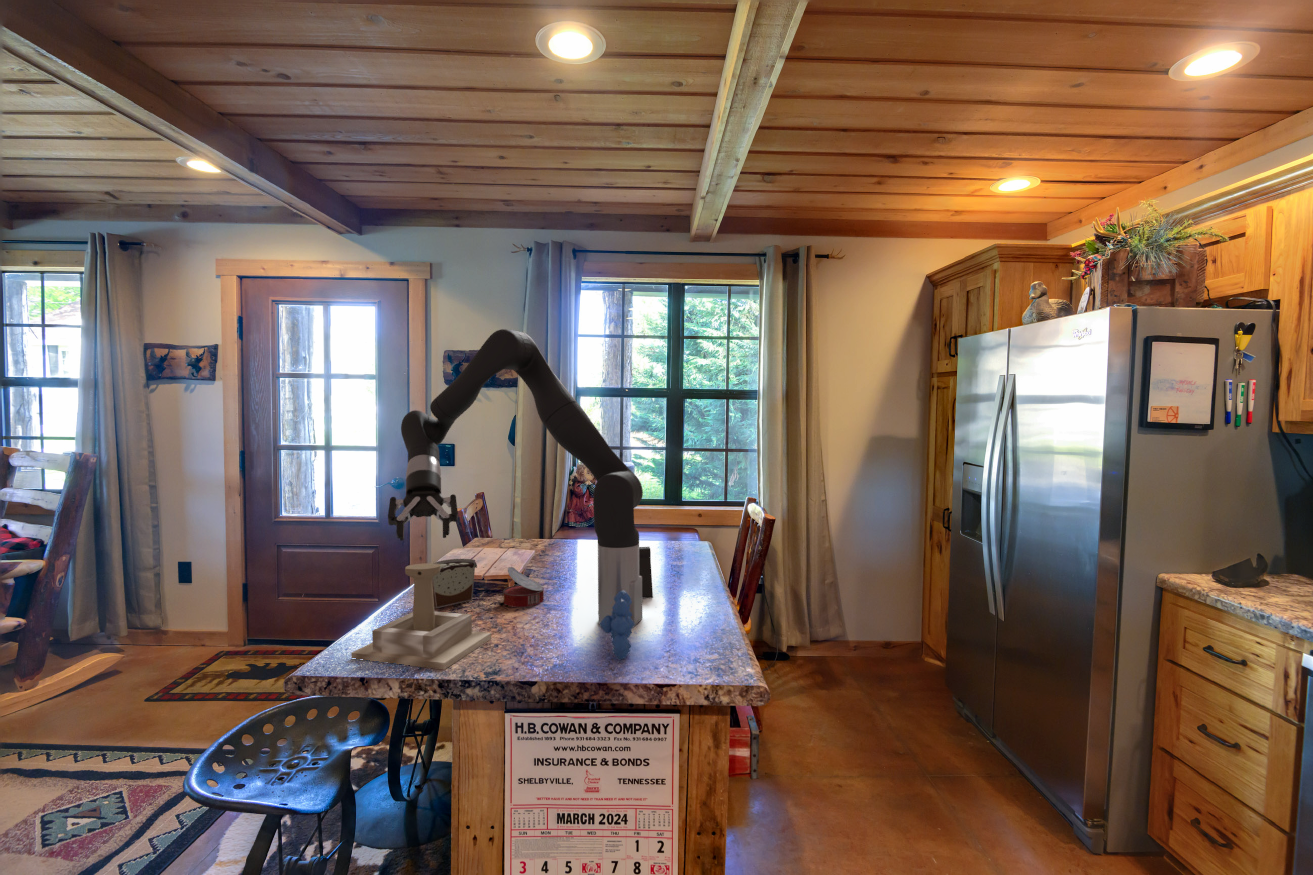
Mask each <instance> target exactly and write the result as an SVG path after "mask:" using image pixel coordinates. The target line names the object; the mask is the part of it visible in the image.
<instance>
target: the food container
mask: <svg viewBox="0 0 1313 875" xmlns="http://www.w3.org/2000/svg"><path fill="white" fill-rule="evenodd" d="M433 563H434V564H440V572H439V573H438V574H436V575H435V576H433V580H432V585H433V599H434V609H439V608H444V607H448V606H452V605H453V606H454V605H457V604H462V603H466V602H470V601H471V602H472V601H473V596H474V582H475V571H476V569H477V568H478V565H477V562H476V560H475V559H472V558H451V559H450V558H449V559H444V560H438V561H435V562H433Z"/></svg>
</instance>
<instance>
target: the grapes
mask: <svg viewBox="0 0 1313 875" xmlns="http://www.w3.org/2000/svg"><path fill="white" fill-rule="evenodd" d="M614 600H615V604H614V606H613V607H612V608H613V611H612V615H611V616H610V615H607V616H605V617H604V619H603V620H602V621H601V623H599V626H600V628H601V629H602V631H603V632H604V633H605V634H610V638H611V639H612V640H611V642H610V643H611V645H612V646H613V649H612V650H611V651H612V652H613V654H614V656H615V658H616V659H617V660H619V661H623V660H624V659H625V658H627V656H628V655H629V654H630V652H631V648H632V645H631V643H630V641H629V637H630V636H631V635H632V633H633V632H632V631H633V630H632V629H633V628H634V627H635V626H636V625H635V623H634V622H633V620H632V619H631V616H632V613H631V612H630V610H629V609H630V607H629V606H630V604H631V603H632V601H631V598H630V596H629V595H628V593H627V592H626V591H624V590H621V591H619V592H618V594H617V595H616V596H615V598H614ZM634 625H635V626H634Z"/></svg>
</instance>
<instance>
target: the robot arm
mask: <svg viewBox="0 0 1313 875" xmlns="http://www.w3.org/2000/svg"><path fill="white" fill-rule="evenodd" d="M503 370H508V371H514V372H515V373H516V374H517V375H518V376H519V378H521V379H522V381H523V383H524V384H525V385H526V386H527V387H528V389H529V391H530V392H531V393H532V397H533V399H534V400H533V401H534V405H535V408H536V412H537V415H538V417H539V419H540V421H541V423H542V424H543V425H544V427H545V429H547V431H548V433H549V434H550V435H551V436H552V438H553V439H554V440H555V441H556V442H557V444H559V446H561V447H562V448H563V450H565V451H566V452H568V453H569V454H570V455H572V456H573V457H574V458H575V459H576V460H578V461H579V462H580V463H581V464H583V466H585V467H586V468H587V469H588V471H589V472H590V473H591V474H592V476H593V478H595V481H596V484H595V485H594V489H593V496H592V499H593V502H592V504H593V525H594V526H593V527H594V532H595V534H596V538H597V583H598V584H597V599H598V600H597V602H598V604H597V606H598V607H597V609H598V610H597V615H598V617H597V618H598V620H597V621H598V623H599V624H600V623H601V621H602V620H603V619H604V617H605V616H607V615H610V616H611V615H612V611H613V608H612V607H613V606H614V604H615V600H614V598H615V596H616V595H617V594H618V592H619V591H621V590H624V591H626V592H627V593H628V595H629V596H630V598H631V601H632V603H631V604H630V606H629V607H630V609H629V610H630V612H631V613H632V616H631V619H632V620H633V622H634V623H635V625H634V626H633V627H636V626H637V624H638V623H639V622H640V621H641V620H642V619H643V598H642V576H639V547H640V533H639V531H638V530H637V529H636V525H635V508H636V507H638V506H639V504H640V503H641V501H642V499H643V494H644V492H643V486H642V482H641V481H640V479H639V478H638V476H637V475H636V474H635V472H633V471H632V470H631V469H630V467H628V465H627V464H625V463H624V461H623V460H622V459H621V458H620V457H619V456H618V454H616V453H615V452H614V450H613V449H612V448H611V447H610V446H609V444H608V442H607V441H606V440H605V438H604V437H603V435H602V434H601V433H600V431H599V430H598V428H597V427H596V426H595V424H594V423H593V422H592V420H591V419H590V418H589V416H588V415H587V413H586V412H585V411H584V409H583V408H582V407H581V406H580V404H579V402H578V401H577V400H576V399H575V398H574V396H573V395H572V394H571V393H570V392H569V389H567V387H565V385H564V383H562V381H561V380H560V379H559V378H558V376H557V375H556V374H555V372H553V370H552V369H551V366H550V365H549V363H548V361H547V360H546V358H545V357H544V355H543V354H542V352H541V350H540V349H539V347H538V345H537V344H536V342H535V341H534V339H533V338H532V337H531V336H529V334H527V333H526V332H523V331H517V330H514V329H513V330H512V329H508V328H504V329H503V328H502V329H498V330H495V331H494V332H492V333H491V334H490V335H489V337H488V338H486V341H484V342H483V344H482V346H481V347H480V348H479V350H478V351H477V352H476V353H475V355H474V356H473V358H472V359H471V360H470V361H469V363H468V364H467V365H466V366H465V367H464V369H463V370H462V371H461V373H459V375H458V376H457V377H456V378H455V379H454V380H453V381H452V382H451V383H450V384H449V385H448V386H447V387H445V389H444V390H442V391H441V392H440V393H439V394H438V395H437V396H436V397H435V398H434V399H433V400H432V401H431V403H430V406H429V409H430V412H431V413H432V415H433V416H431V415H429V414H427V413H425V412H423V411H421V410H416V409H415V410H410V411H409V412H407V413H406V414H405V415H404V416H403V419H402V420H401V424H400V430H401V431H400V432H401V436H402V440H403V441H404V445H405V448H406V451H407V453H408V454H407V467H406V475H405V497H404V498H403V499H397V497H396V496H391V497H390V499H389V505H388V512H387V513H388V514H387V521H388V522H387V523H388V525H389V526H396V529H395V530H396V532H395V534H396V537H397V538H396V539H399V541H400V542H402V541H405V525H406V524H407V523H408V522H410V521H411V520H412V519H413V518H414V517H416V518H422V517H428V518H430V517H432V516H434V517H435V518H436V519H437V520H440V522H441V523H442V538H443V539H447V536H449V535H450V530H451V529H450V523H452V522H454V523H456V522H457V521H458V520H459V518H458V514H459V512H458V503H457V496H456V494H454V493H453V494H450V496H449V497H448V496H447V497H446V496H445V497H444V496H443V495H442V472H441V471H442V470H441V466H440V462H441V461H440V448H439V445H440V444H441V443H442V442H443V441H444V440H445V438H446V436H447V434H448V432H449V431H450V429H451V428H452V426H453V424H454V423H455V421H456V420H457V419H459V418H460V416H462V415H463V414H464V413H465V412H466V411H467V410H469V409H470V407H471V406H472V405H473V404H474V402H475V401H476V400H477V398H478V396H479V394H480V392H481V390H482V388H483V387H484V385H485V384H486V383H487V382H488V381H489V380H490V379H491V378H493V377H494V376H495V375H497V374H498V373H500V372H502V371H503ZM434 417H435V418H434ZM444 504H445V505H446V506H447V507H448V508H450V513H448V512H447V511H446V510H445V509H444V507H443V505H444ZM401 506H403V507H404V509H403V510H402V512H401V513H400V514H399V515H398V516H396V514H397V511H398V510H399V509H400V508H401Z"/></svg>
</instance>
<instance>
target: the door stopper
mask: <svg viewBox="0 0 1313 875" xmlns="http://www.w3.org/2000/svg"><path fill="white" fill-rule="evenodd" d="M651 551H652V550H651V547H650V546H639V576H642V597H651V598H653V597H654V596H653V595H654V594H653V593H654V592H653V578H652V577H653V576H652V564H651V563H652V562H651V560H652V559H651Z"/></svg>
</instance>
